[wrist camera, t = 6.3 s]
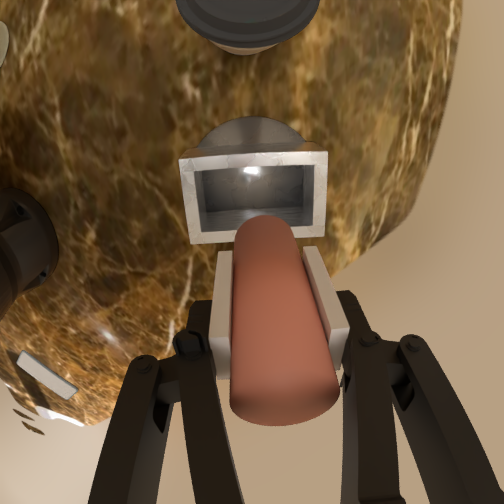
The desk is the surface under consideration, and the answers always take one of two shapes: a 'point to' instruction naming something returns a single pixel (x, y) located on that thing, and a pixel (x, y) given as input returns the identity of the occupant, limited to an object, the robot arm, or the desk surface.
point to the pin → (276, 331)
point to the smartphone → (46, 375)
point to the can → (3, 41)
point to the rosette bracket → (253, 180)
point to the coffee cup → (247, 21)
